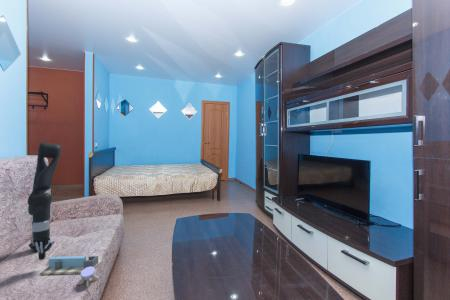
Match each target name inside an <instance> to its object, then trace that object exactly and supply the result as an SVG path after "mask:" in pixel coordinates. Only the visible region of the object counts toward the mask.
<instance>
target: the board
mask: <svg viewBox="0 0 450 300" xmlns="http://www.w3.org/2000/svg"><path fill="white" fill-rule="evenodd" d="M103 261H104V260H103V259H98V264H97V265H96V266H95V267H94V268H95V270H97V268H99V267H100V266H101V265H102V264H103ZM83 269H85V268H84V267H63V268H60V269H55V268H49V266H48V267H46V268H45V269H43V270H42V271H40V273H39V275H40V276H46V275H47V276H49V275H50V274H58V275H81V272H82V270H83Z"/></svg>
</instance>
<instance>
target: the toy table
mask: <svg viewBox="0 0 450 300" xmlns="http://www.w3.org/2000/svg"><path fill="white" fill-rule="evenodd" d="M95 273H96V269H95V268H94V267H87V268H85V269H83V270H82V272H81V274H80V277H81V278H80V279H79V280H78V282H77V284H76V285H83V284H84V282H85V281H86V286H85V287H86V288H88V287H90V279H91V280H92V282H94V281H98V280H99V276H97V275H96V274H95Z"/></svg>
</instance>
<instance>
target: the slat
mask: <svg viewBox="0 0 450 300" xmlns="http://www.w3.org/2000/svg"><path fill="white" fill-rule="evenodd" d="M85 260H87V255H72V256H66V255H65V256H51V257H49V258H48V267H49V268H55V262H56V261H61V268H63V267H84V261H85Z"/></svg>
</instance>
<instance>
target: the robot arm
mask: <svg viewBox="0 0 450 300" xmlns="http://www.w3.org/2000/svg"><path fill="white" fill-rule="evenodd" d="M61 153H62V145H61V144H58V143H49V142H41V143H40V144H39V145H38V149H37V160H36V168H35V174H34V176H33V177H34V178H33V182H32V184H33V185H32V191H31V193H30V195H29V196H28V198H27V205H28V207H27V213H28V214H29V215H30V216H32V220H31V236H30V243H29V244H28V247H29V248H30V252H34V253H35V254H36V253H37V254H38V256H37V257H38V259H39V261H42V260H45V258H46V253H47V252H49V251H50V249H51V248H52V247H53V245H54V244H55V241H52V240H51V227H50V225H51V224H50V222H51V204H52V202H53V196H52V194H51V193H49V192H47V191H49V190H51V187H52V183H53V177H54V175H55V171H56V168H57V166H58V163H59V161H60V156H61ZM45 158H46V159H47V158H48V159H52V160H51V162H50V163H49V164H48V165H47V163H46V160H45Z"/></svg>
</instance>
